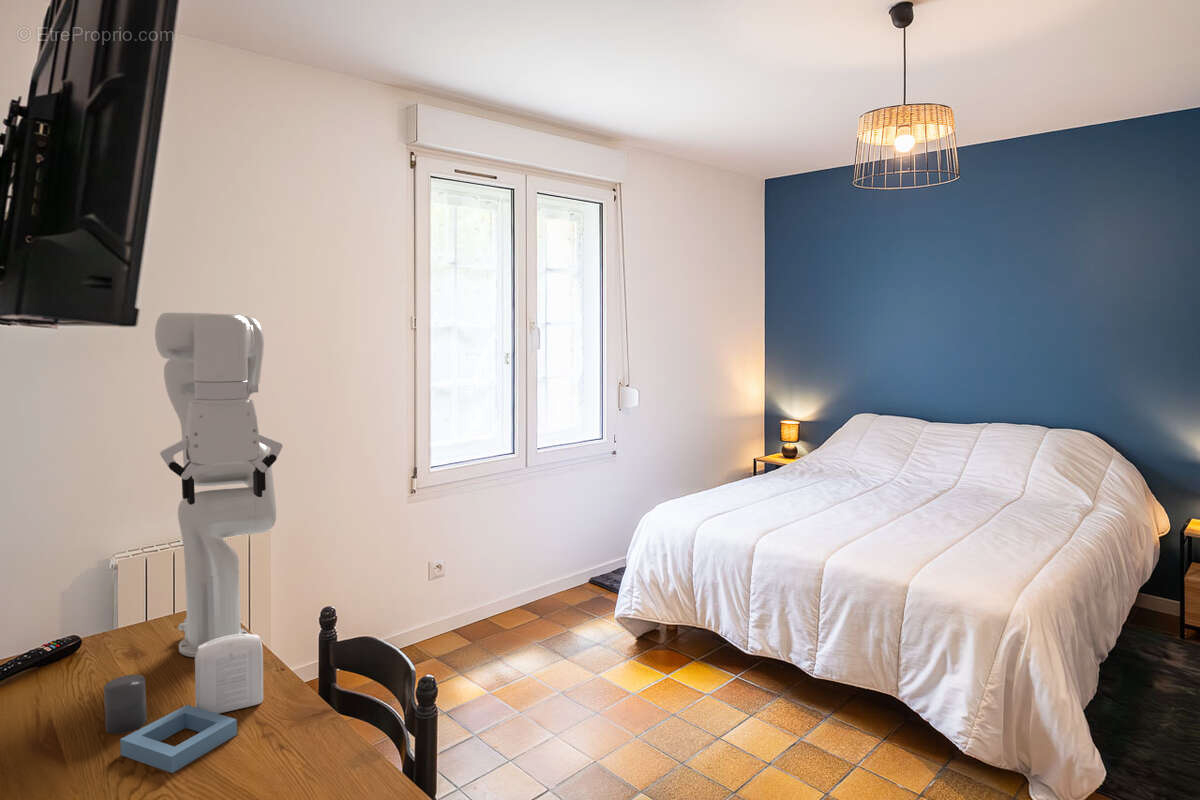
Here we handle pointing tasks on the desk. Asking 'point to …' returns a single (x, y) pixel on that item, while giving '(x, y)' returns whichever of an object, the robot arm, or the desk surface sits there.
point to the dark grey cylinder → (125, 704)
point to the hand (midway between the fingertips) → (225, 499)
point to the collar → (170, 758)
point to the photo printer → (229, 673)
